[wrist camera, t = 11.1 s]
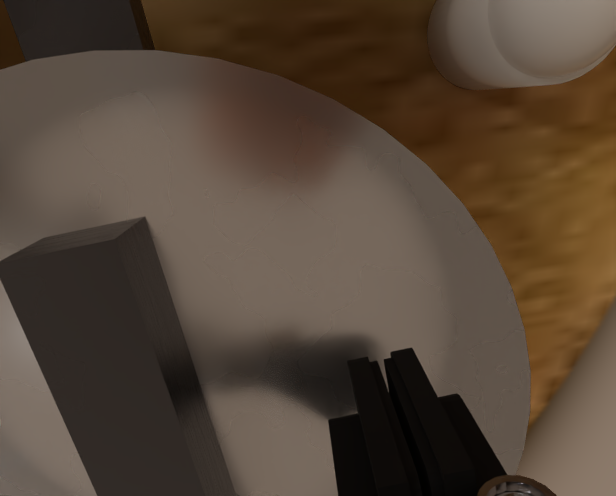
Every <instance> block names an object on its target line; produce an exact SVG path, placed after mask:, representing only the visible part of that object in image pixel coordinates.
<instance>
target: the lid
mask: <svg viewBox="0 0 616 496" xmlns="http://www.w3.org/2000/svg"><path fill="white" fill-rule="evenodd" d="M406 348H413V350H414V352H415V354H416V356H417V358H418V360H419V362H420V363H421V365H422V367H423V369H424V371H425V373H426V375H427V377H428V379H429V381H430V383H431V385H432V387H433V389H434V391H435V393H436V394H437V396H438V397H441V396H446V395H451V394H456V393H457V394H459V395H460V396H461V398H462V399H463V401H464V403H465V404H466V406H467V408H468V409H469V411H470V413H471V414H472V416H473V418H474V419H475V421H476V423H477V425H478V426H479V428H480V430H481V431H482V433H483V435H484V436H485V438H486V440H487V441H488V443H489V445H490V446H491V448H492V450H493V451H494V453H495V455H496V456H497V458H498V460H499V461H500V463H501V465H502V466H503V468H504V470H505V472H506V473H507V475H516V472H517V469H518V466H519V463H520V460H521V457H522V454H523V451H524V445H525V439H526V433H527V427H528V422H529V416H530V381H531V371H530V364H529V357H528V350H527V343H526V336H525V329H524V326H523V323H522V320H521V316H520V313H519V310H518V307H517V303H516V300H515V297H514V293H513V290H512V287H511V285H510V283H509V281H508V279H507V277H506V275H505V273H504V271H503V268H502V266H501V264H500V262H499V260H498V258H497V256H496V254H495V252H494V250H493V248H492V246H491V244H490V242H489V241H488V240H487V238H486V237H485V235H484V234H483V232H482V231H481V229H480V228H479V226H478V225H477V223H476V222H475V221H474V219H473V218H472V216H471V215H470V213H469V212H468V210H467V209H466V207H465V206H464V204H463V203H462V202H461V201H460V200H459V199H458V198H457V197H456V196H455V194H454V193H453V192H452V191H451V190H450V189H449V188H448V187H447V186H446V185H445V184H444V183H443V182H442V180H441V179H440V178H439V177H438V176H437V175H436V174H435V173H434V172H433V171H432V170H431V169H430V167H429V166H428V165H427V164H426V163H424V162H423V161H422V160H421V159H419V158H418V157H417V156H416V155H414V154H413V153H412V152H411V151H410V150H408V149H407V148H406V147H405V146H403V145H402V144H401V143H400V142H398V141H397V140H396V139H395V138H394V137H392V136H391V135H390V134H389V133H387V132H386V131H385V130H384V129H382V128H380V127H379V126H377V125H376V124H374V123H372V122H371V121H369V120H367V119H366V118H364V117H362V116H361V115H359V114H357V113H356V112H354V111H352V110H351V109H349V108H347V107H346V106H344V105H342V104H341V103H339V102H337V101H336V100H334V99H332V98H330V97H327V96H325V95H323V94H320V93H318V92H316V91H314V90H311V89H309V88H307V87H304V86H302V85H300V84H297V83H295V82H293V81H290V80H288V79H286V78H283V77H281V76H279V75H276V74H272V73H268V72H265V71H261V70H258V69H254V68H250V67H247V66H243V65H240V64H236V63H232V62H229V61H225V60H221V59H218V58H210V57H203V56H195V55H188V54H181V53H173V52H166V51H158V50H102V51H87V52H81V53H74V54H67V55H61V56H54V57H47V58H41V59H34V60H30V61H27V62H24V63H21V64H17V65H14V66H11V67H8V68H4V69H1V70H0V496H338V491H337V484H336V476H335V469H334V461H333V454H332V447H331V439H330V432H329V424H328V420H329V419H334V418H339V417H344V416H348V415H353V414H358V412H357V408H356V403H355V398H354V393H353V388H352V383H351V378H350V374H349V369H348V364H347V361H348V360H353V359H358V358H363V357H368V359H369V362H372V361H378V364H379V366H380V369H381V372H382V375H383V378H384V380H385V383H386V386H387V389H388V383H387V378H386V372H385V366H384V359H387V358H391V355H390V352H392V351H397V350H401V349H406ZM388 392H389V389H388Z"/></svg>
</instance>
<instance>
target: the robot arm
mask: <svg viewBox="0 0 616 496" xmlns="http://www.w3.org/2000/svg"><path fill="white" fill-rule="evenodd" d="M390 355H391V358H387V359H384V366H385V372H386V378H387V383H388V389H389V392H388V389H387V386H386V383H385V380H384V378H383V375H382V372H381V369H380V366H379V364H378V361H372V362H369V359H368V357H363V358H358V359H353V360H348V361H347V364H348V369H349V374H350V378H351V383H352V388H353V393H354V398H355V403H356V408H357V412H358V414H353V415H348V416H344V417H339V418H334V419H329V420H328V424H329V432H330V439H331V447H332V454H333V461H334V469H335V476H336V484H337V491H338V496H556V494H554V493H553V492H552V491H551V490H550V489H549V488H547V487H546V486H545V485H543V484H541V483H539V482H537V481H535V480H534V479H530V478H527V477H523V476H518V475H507V473H506V472H505V470H504V468H503V466H502V465H501V463H500V461H499V460H498V458H497V456H496V455H495V453H494V451H493V450H492V448H491V446H490V445H489V443H488V441H487V440H486V438H485V436H484V435H483V433H482V431H481V430H480V428H479V426H478V425H477V423H476V421H475V419H474V418H473V416H472V414H471V413H470V411H469V409H468V408H467V406H466V404H465V403H464V401H463V399H462V398H461V396H460V395H459V394H457V393H456V394H451V395H446V396H441V397H438V396H437V394H436V393H435V391H434V389H433V387H432V385H431V383H430V381H429V379H428V377H427V375H426V373H425V371H424V369H423V367H422V365H421V363H420V362H419V360H418V358H417V356H416V354H415V352H414V350H413V348H406V349H401V350H397V351H392V352H390Z"/></svg>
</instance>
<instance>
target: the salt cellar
mask: <svg viewBox="0 0 616 496" xmlns="http://www.w3.org/2000/svg"><path fill="white" fill-rule="evenodd" d="M427 43H428V49H429V53H430V56H431V59H432V61H433V63H434V65H435V67H436V68H437V70H438V71H439V72H440V74H441V75H442V76H443V77H444V78H445V79H447V80H448V81H449V82H451V83H452V84H454V85H456V86H458V87H461V88H464V89H469V90H488V89H501V88H515V87H529V86H543V85H554V84H561V83H564V82H568V81H571V80H573V79H576V78H578V77H580V76H582V75H584V74H585V73H587V72H589V71H590V70H592V69H593V68H594V67H596V66H597V65H598V64H599V63H600V62H601V61H603V60H604V59H605V58H606V57H607V55H608V54H609V53H610V52H611V51H612V50H613V48H614V47H615V46H616V0H437V1H436V2H435V4H434V7H433V9H432V11H431V14H430V18H429V22H428V29H427Z"/></svg>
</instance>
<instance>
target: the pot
mask: <svg viewBox="0 0 616 496" xmlns="http://www.w3.org/2000/svg"><path fill="white" fill-rule="evenodd" d="M3 1H4V3H5V6H6V9H7V11H8V14H9V17H10V20H11V22H12V25H13V28H14V30H15V33H16V36H17V38H18V41H19V44H20V47H21V49H22V52H23V55H24V57H25V60H26V62H27V61H30V60H34V59H41V58H47V57H54V56H61V55H67V54H74V53H81V52H87V51H102V50H155V48H154V45H153V41H152V38H151V34H150V31H149V27H148V24H147V20H146V17H145V13H144V10H143V6H142V3H141V0H3Z"/></svg>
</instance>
